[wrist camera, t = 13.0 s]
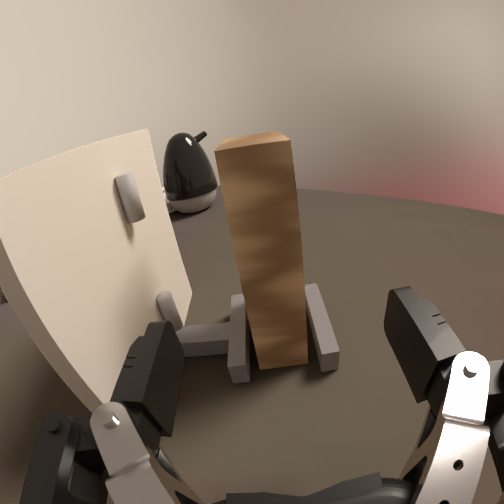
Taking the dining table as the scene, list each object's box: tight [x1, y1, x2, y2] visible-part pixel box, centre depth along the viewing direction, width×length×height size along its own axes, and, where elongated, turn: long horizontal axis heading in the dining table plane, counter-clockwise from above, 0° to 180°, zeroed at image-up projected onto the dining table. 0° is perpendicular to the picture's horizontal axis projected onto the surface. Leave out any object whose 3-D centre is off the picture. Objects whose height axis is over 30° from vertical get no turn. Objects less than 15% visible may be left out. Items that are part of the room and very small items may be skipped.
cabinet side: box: [0, 129, 340, 413], centre depth 17 cm, size 14×18×17 cm
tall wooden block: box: [215, 131, 308, 370], centre depth 18 cm, size 4×6×15 cm, turn 0°
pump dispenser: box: [163, 131, 217, 213], centre depth 52 cm, size 10×10×15 cm
